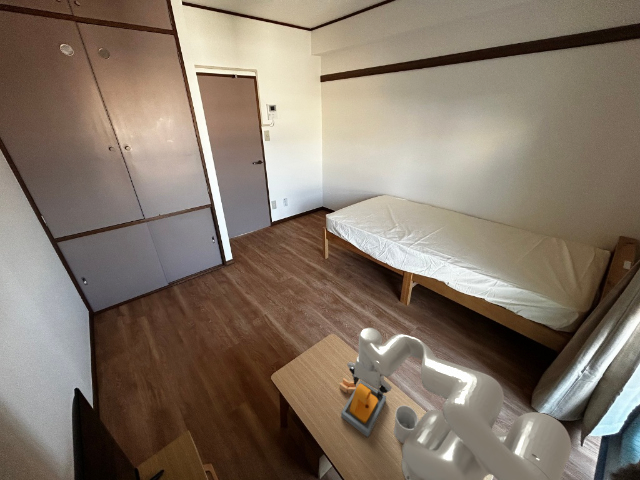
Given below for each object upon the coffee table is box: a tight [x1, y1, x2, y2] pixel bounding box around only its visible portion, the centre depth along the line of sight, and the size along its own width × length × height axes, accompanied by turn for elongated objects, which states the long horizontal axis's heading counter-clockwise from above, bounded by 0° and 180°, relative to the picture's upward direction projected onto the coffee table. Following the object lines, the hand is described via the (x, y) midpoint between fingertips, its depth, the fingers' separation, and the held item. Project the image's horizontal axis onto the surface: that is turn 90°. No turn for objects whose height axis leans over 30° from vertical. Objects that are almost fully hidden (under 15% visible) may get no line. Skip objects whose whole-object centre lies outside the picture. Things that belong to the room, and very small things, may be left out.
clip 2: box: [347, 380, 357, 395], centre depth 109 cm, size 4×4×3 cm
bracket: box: [350, 383, 378, 424], centre depth 99 cm, size 11×7×12 cm, turn 140°
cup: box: [393, 404, 420, 444], centre depth 92 cm, size 8×8×12 cm
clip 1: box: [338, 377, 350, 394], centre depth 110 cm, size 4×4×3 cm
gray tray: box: [340, 379, 387, 438], centre depth 102 cm, size 12×16×4 cm
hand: (367, 388), depth 94 cm, fingers open, 9 cm apart
